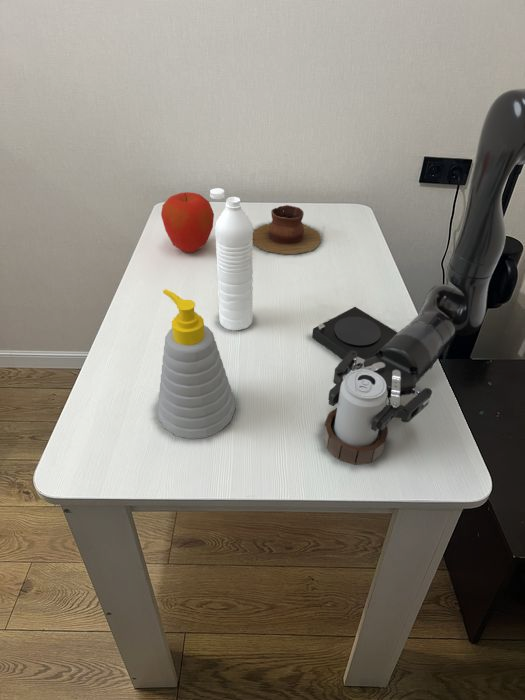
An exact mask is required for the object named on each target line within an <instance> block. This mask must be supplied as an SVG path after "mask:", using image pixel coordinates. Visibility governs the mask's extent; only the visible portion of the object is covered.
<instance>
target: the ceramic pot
mask: <svg viewBox="0 0 525 700" xmlns="http://www.w3.org/2000/svg"><path fill="white" fill-rule="evenodd" d="M270 211H271V222H270V223H265V224H263V225H260V226H258V227H257V228H255V229H253V239H252V240H253V243H252V244H253V245H254V246H255V247H257V248H259V249H260V250H263V251H267V252H268V253H276V254H279V255H298V254H302V253H303V254H304V253H307V252H308V253H309V252H311V251H314V250H315V249H316V248H317V247H318V246H319V245H320V244H321V242H322V237H321V235H320V233H319V232H318V230H316V229H315V228H313V227H310V226H308V225H307V224H304V223H303V222H302V220H303V219H304V215H305V214H304V210H303V209H302V208H300V207H298V206H294V205H290V204H289V205H288V204H285V205H280V206H278V207H275V208H273V209H271V210H270Z"/></svg>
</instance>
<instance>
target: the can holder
mask: <svg viewBox="0 0 525 700" xmlns="http://www.w3.org/2000/svg"><path fill="white" fill-rule="evenodd" d="M336 413H337V407H336V408H334V409H332V410H331V411H329V413H328V414H327V417H326V419H325V422H324V428H323V433H322V438H323V442H324V445H325V447H326V450H327V451H328V452H329V453H331V455H333V456H334V457H335V458H336V459H337V460H339V461H340V462H344V463H347V464H351V465H366V464H371V463H373V462H374V461H376V460H377V459H378V458H379V457H381V456H382V454H383V452H384V449H385V445H386V441H387V437H388V433H389V430H388V429H389V428H388V425H387V426H386V427H385V428H384V429H383V430H379V431H378V435H377V440H376V443H374V444H373V445H372V446H365V447H354V446H351V445H348V444H344V443H343V442H341V441H340V440H339V439H338V438H337V437H336V436H334V434H333V432H334V430H333V429H332V428H334V425H335V419H336Z"/></svg>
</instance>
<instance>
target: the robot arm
mask: <svg viewBox="0 0 525 700" xmlns="http://www.w3.org/2000/svg"><path fill="white" fill-rule="evenodd" d="M517 165H519V166H520V165H525V88H514V89H509V90H507V91H504V92H503V93H501V94H500V95H498V96H497V97H496V98H495V99H494V101H493V102H492V103H491V105H490V106H489V109H488V110H487V113H486V114H485V117H484V120H483V123H482V126H481V130H480V133H479V138H478V143H477V148H476V152H475V158H474V164H473V169H472V174H471V179H470V185H469V189H468V196H467V202H466V207H465V213H464V217H463V221H462V224H461V228H460V231H459V233H458V237H457V240H456V242H455V245H454V247H453V250H452V252H451V256H450V259H449V261H448V263H447V266H446V271H445V273H446V274H445V275H446V278H447V280H448V281H449V283H451V284H452V285H453V286H452V285H450V284H446V283H442V284H441V283H440V284H437V285H435V286H433V287H432V288H430V290H429V291H428V292H427V294H426V296H425V298H424V301H423V303H422V306H421V309H420V311H419V313H418V314H417V316H416V317H415V318H413V320H411V322H409V323H408V324H407V325H406V326H405V327H403V328H402V329H400V330H399V331H397V332H398V333H397V334H396V335H395V336H394V337H393V338H392V339H391V340H389V341H388V342H387V343H386V344H385V345H384V346H383V347H382V348H381V349H380V350H379V351H378V352H377V353H376V354H375V356H374V357H372V358H368V359H366V360H364V359H362V358H360V357H357V352H356V351H350V352H349V353H348V354H347V356H346V357H345V358H344V359H341V361H340V362H339V364H338V365H337V366H336V367H335V368H334V373H333V379H332V383H333V384H335V385H334V386H332V388H331V389H330V390H329V391H328V397H327V400H328V405H330V406H331V407H335V406H336V405H338V400H339V394H340V388H341V383H342V382H343V380H344V379H345V377H346V375H347V374H348V373H350V372H352V371H354V370H359V369H357V368H358V367H362V368H360V369H365V370H370V371H373V372H375V373H377V374H379V375H380V376H381V377H382V378H383V379H384V380H385V382H386V388H387V392H388V395H387V399H386V402H387V404H385V407H384V408H383V410H382V411H380V412H379V414H378V415H377V416H376V417H375V418H374V420H373V422H372V426H371V429H372V430H374V431H375V432H376V431H377V430H378V429H379V430H383V429H384V428H385V427H386V426H387V427H388V425H389V424H390V423H391V422H392V420H394V419H400V420H401V421H402V423H404V424H405V423H406V424H407V423H410V422H411V421H412V420H413V419H414V418H415V417H416V416H417V415H418V414H419V413H421V412H422V411H423V410H424V409H425V408H426V407H428V405H429V403H430V401H431V397H432V394H433V390H432V389H431V388H429V387H425V388H421V387H419V386H418V385H417V384H418V383H419V382H420V380H422V378H423V377H424V376H425V375H426V374H427V373H428V371H430V370H431V369H432V368H433V367H434V366H435V364H436V362H437V361H438V360H439V357H440V356H441V355H442V354H443V352H444V351H445V350H446V349H447V348H449V347H448V346H449V345H450V344H451V343H452V342H453V341H454V339H455V337H456V335H459V336H462V337H466V336H467V337H468V336H470V335H473V334H475V333H476V332H477V331H479V329H480V328H481V327H482V325H483V323H484V321H485V318H486V314H487V306H488V305H487V304H488V292H489V287H490V282H491V280H492V276H493V274H494V271H495V269H496V267H497V265H498V263H499V261H500V258H501V256H502V255H503V251H504V248H505V245H506V239H507V238H506V237H507V231H506V230H507V229H506V223H505V217H504V213H503V205H502V204H503V203H502V201H503V200H502V199H503V192H504V188H505V185H506V183H507V181H508V179H509V177H510V175H511V173H512V171H513V169H514V168H515V166H517ZM408 395H412V398H411V400H409V401H408V402H407V403H406V404H405V405H402V404H400V399H401V398H400V397H405V396H408Z"/></svg>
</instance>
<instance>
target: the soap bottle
mask: <svg viewBox="0 0 525 700" xmlns="http://www.w3.org/2000/svg"><path fill="white" fill-rule="evenodd" d="M162 293H163V294H164V295H166V296H167V297H168V298H169V299H171V301H173V303H174V304H175V305H176V308H177V309H178V313H177V314H176V316H175V317H173V319H172V320H171V328H170V329H169V330H168V332H167V333H166V335H165V337H164V346H163V355H162V365H161V374H160V383H159V392H158V400H157V418H158V420H159V421H160V424H161V425H162V427H163V428H164V429H165V430H166V431H169V432H170V433H171V434H173V435H174V436H175V437H181V438H184V439H185V438H187V439H190V440H192V439H200V438H201V439H202V438H208V437H210V436H212V435H214V434H217V433H219V432H221V431H222V430H223V429H225V427H226V426H228V424H230V423H231V422H232V420H233V417H234V414H235V411H236V409H237V408H236V401H235V396H234V392H233V390H232V387H231V384H230V382H229V381H230V380H229V377H228V376H227V372H226V368H225V366H224V362H223V359H222V358H221V353H220V350H219V348H218V345H217V341H216V340H215V336H214V333H213V331H212V330H211V329H210V328H209V327H208V326H206V325H205V319H204V318H203V317H202V316H201V315H200V314H198V313H197V312H196V311H195V307H196V303H195V302H194V300H192V299H183V298H182V297H180V296H179V295H177V294H176V293H175V292H173V291H171V290H169V289H167V288H165V289H163V290H162Z"/></svg>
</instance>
